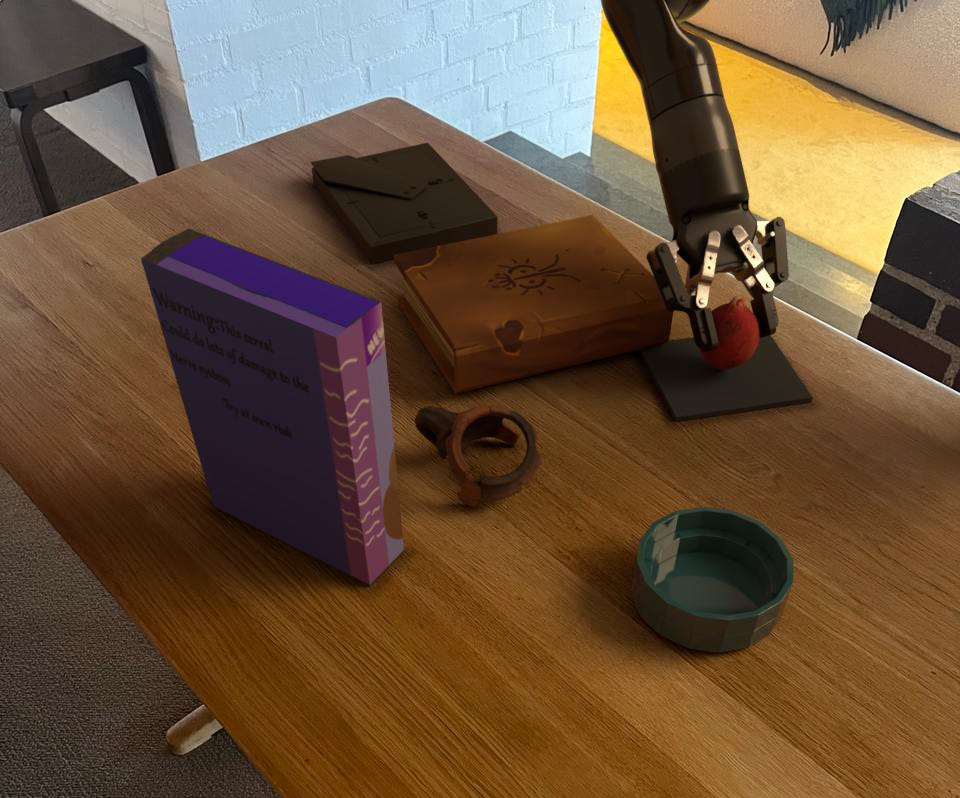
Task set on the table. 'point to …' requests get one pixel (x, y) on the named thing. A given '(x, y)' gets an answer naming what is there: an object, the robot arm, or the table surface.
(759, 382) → the mat
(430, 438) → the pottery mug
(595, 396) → the table surface
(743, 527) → the bowl
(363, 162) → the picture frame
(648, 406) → the table surface
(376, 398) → the purple book
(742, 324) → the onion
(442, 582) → the table surface
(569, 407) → the table surface
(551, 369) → the diary
